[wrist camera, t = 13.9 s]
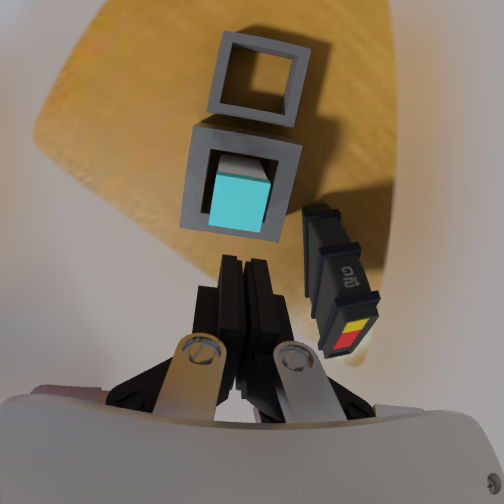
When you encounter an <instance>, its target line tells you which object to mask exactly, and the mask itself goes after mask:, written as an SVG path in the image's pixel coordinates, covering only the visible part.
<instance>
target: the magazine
mask: <svg viewBox="0 0 504 504" xmlns="http://www.w3.org/2000/svg"><path fill="white" fill-rule="evenodd" d="M340 218H341V213H340V211H339V210H338V209H332V210H331V209H330V207H329V206H328V205H327V204H321V205H313V206H304V207H302V223H303V243H304V270H305V297H306V298H309V297H310V300H311V303H312V310H311V318H312V319H314V318H316V321H317V325H318V329H319V334H320V339H319V342H318V349H319V350H323V353H324V358H325V359H328V358H333V357H338V356H343V355H347V354H351V353H352V352H353V351H354V350H355V348H356V347H357V346H358V344H359V343H360V342H361V340H362V339H363V338H364V336H365V335H366V334H367V332H368V331H369V330H370V328H371V327H372V326H373V324H374V323H375V321H376V320H377V318H378V317H379V314H378V311H377V308H376V306H377V304H378V302H379V301H380V299H381V298H380V295H379V292H378V290H377V291H372V292H371V289H370V286H369V283H368V280H367V277H366V274H365V271H364V269H363V267H362V265H361V262H360V260H359V258H360V254H361V250H362V249H361V247H360V245H359V243H358V242H354V243H351V241H350V239H349V237H348V235H347V233H346V231H345V229H344V227H343V226H342V224H341V223H340Z"/></svg>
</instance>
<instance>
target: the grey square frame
mask: <svg viewBox="0 0 504 504" xmlns="http://www.w3.org/2000/svg"><path fill="white" fill-rule="evenodd" d="M232 47H233V48H239V49H245V50H250V51H256V52H261V53H266V54H270V55H275V56H279V57H284V58H288V59H292V64H291V68H290V72H289V77H288V81H287V86H286V90H285V95H284V99H283V103H282V108H281V112H280V114H278V113H273V112H269V111H264V110H259V109H253V108H248V107H242V106H237V105H231V104H224V103H221V99H222V94H223V89H224V84H225V79H226V74H227V70H228V65H229V61H230V56H231V52H232ZM310 53H311V49H309V48H306V47H302V46H298V45H294V44H290V43H286V42H282V41H278V40H273V39H268V38H263V37H258V36H253V35H248V34H242V33H236V32H229V31H223V35H222V40H221V44H220V48H219V53H218V57H217V62H216V67H215V71H214V76H213V81H212V86H211V91H210V96H209V101H208V107H207V112H209V113H216V114H223V115H229V116H235V117H241V118H246V119H252V120H257V121H262V122H267V123H272V124H277V125H282V126H286V127H290V128H294V123H295V119H296V115H297V110H298V106H299V102H300V97H301V93H302V89H303V84H304V80H305V76H306V71H307V67H308V62H309V58H310Z"/></svg>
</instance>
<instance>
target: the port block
mask: <svg viewBox="0 0 504 504" xmlns="http://www.w3.org/2000/svg"><path fill="white" fill-rule="evenodd" d="M302 148H303V146H302V145H301V144H299V143H298V142H297V141H295V140H294V139H292V138H288V137H283V136H279V135H274V134H269V133H264V132H259V131H253V130H248V129H242V128H237V127H231V126H224V125H218V124H211V123H204V122H198V123H197V124H196V125H194V126H193V131H192V137H191V143H190V150H189V157H188V163H187V171H186V178H185V185H184V193H183V202H182V210H181V219H180V228H186V229H193V230H200V231H207V232H214V233H220V234H227V235H234V236H241V237H247V238H254V239H260V240H267V241H273V242H279V238H280V234H281V231H282V227H283V223H284V219H285V215H286V211H287V207H288V204H289V200H290V196H291V192H292V188H293V184H294V180H295V176H296V172H297V168H298V164H299V160H300V156H301V152H302ZM212 149H216V150H222V151H229V152H235V153H241V154H246V155H252V156H257V157H263V158H268V159H270V161H269V166H268V170H267V175H266V177H267V179H268V180H269V181H270V183H271V185H270V189H269V194H268V198H267V202H266V207H265V211H264V216H263V220H262V224H261V229H260V233H259V232H252V231H246V230H239V229H232V228H226V227H219V226H212V225H209V218H210V211H211V205H212V198H213V197H209V196H205V190H206V184H207V177H208V171H209V165H210V159H211V153H212Z"/></svg>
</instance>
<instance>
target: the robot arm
mask: <svg viewBox="0 0 504 504" xmlns="http://www.w3.org/2000/svg"><path fill="white" fill-rule="evenodd" d="M235 378H236V390H241V397H242V399H247V400H248V401H249V402H250V403H251V404H252V405H254V408H253V411H254V416H255V420H256V423H241V422H240V423H239V422H224V421H223V422H222V421H213V419H214V414H215V410H216V407H217V406H218V405H219V404H220V403H222V402H224V401H225V400H226V399H228V395H229V391H230V390H232V387H233V383H234V379H235ZM0 504H504V473H503V470H502V468H501V465H500V463H499V461H498V458H497V456H496V454H495V451H494V449H493V447H492V445H491V443H490V441H489V440H488V438H487V436H486V434H485V432H484V431H483V429H482V428H481V426H480V425H479V424H478V422H477V421H476V420H475V419H473V418H472V417H470V416H468V415H465V414H463V413H459V412H454V411H446V410H431V411H424V410H423V409H419V408H413V407H400V406H389V405H380V404H375V405H374V406H373V407H371V406H370V405H369V404H368V403H367V402H366V401H365V400H363V399H362V398H360V397H358V396H357V395H355V394H353V393H352V392H351V391H349V390H348V389H346V388H345V387H343V386H341V385H340V384H338V383H337V382H335V381H334V380H332V379H331V378H329V377H328V376H327V375H326V373H325V371H324V369H323V367H322V365H321V363H320V360H319V358H318V356H317V355H316V353H315V352H314V350H312V349H311V348H310V347H309V346H307V345H305V344H303V343H300V342H297V341H294V337H293V332H292V328H291V324H290V320H289V315H288V311H287V307H286V302H285V298H284V296H283V295H276V294H273V291H272V286H271V281H270V275H269V270H268V265H267V261H266V260H262V259H254V258H252V259H251V262H248V261H246V263H245V267H244V272H243V268H242V261H240V260H237V256H231V255H222V260H221V267H220V273H219V280H218V286H217V288H215V287H207V286H199V287H198V293H197V300H196V308H195V315H194V323H193V331H192V334H190V335H187V336H185V337H184V338H182V339H181V341H180V342H179V343H178V346H177V348H176V351H175V353H174V356H173V357H171V358H170V359H168V360H166V361H164V362H162V363H160V364H158V365H156V366H155V367H153V368H151V369H149V370H147V371H145V372H143V373H141V374H139V375H137V376H135V377H133V378H131V379H129V380H127V381H125V382H123V383H121V384H120V385H118V386H116V387H115V388H113V389H112V390H111V391H102V389H101V387H76V386H60V385H40V386H38V387H36V388H34V389H33V390H32V391H31V392H30V394H25V395H17V396H12V397H8V398H6V399H4V400H1V401H0Z"/></svg>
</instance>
